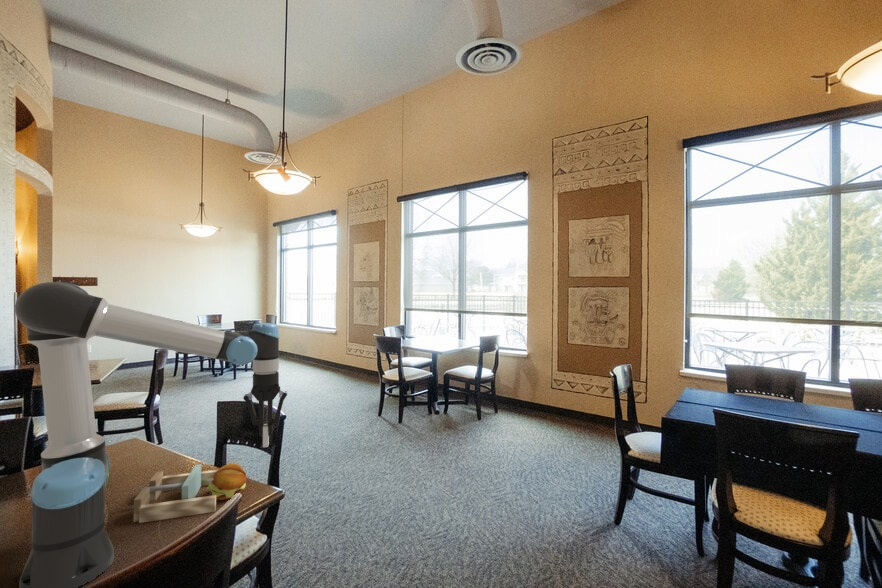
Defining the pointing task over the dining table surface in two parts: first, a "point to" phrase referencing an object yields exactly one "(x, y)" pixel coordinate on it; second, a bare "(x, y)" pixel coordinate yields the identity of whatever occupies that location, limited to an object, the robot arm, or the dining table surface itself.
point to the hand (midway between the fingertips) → (265, 445)
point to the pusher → (184, 484)
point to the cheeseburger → (228, 481)
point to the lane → (172, 508)
